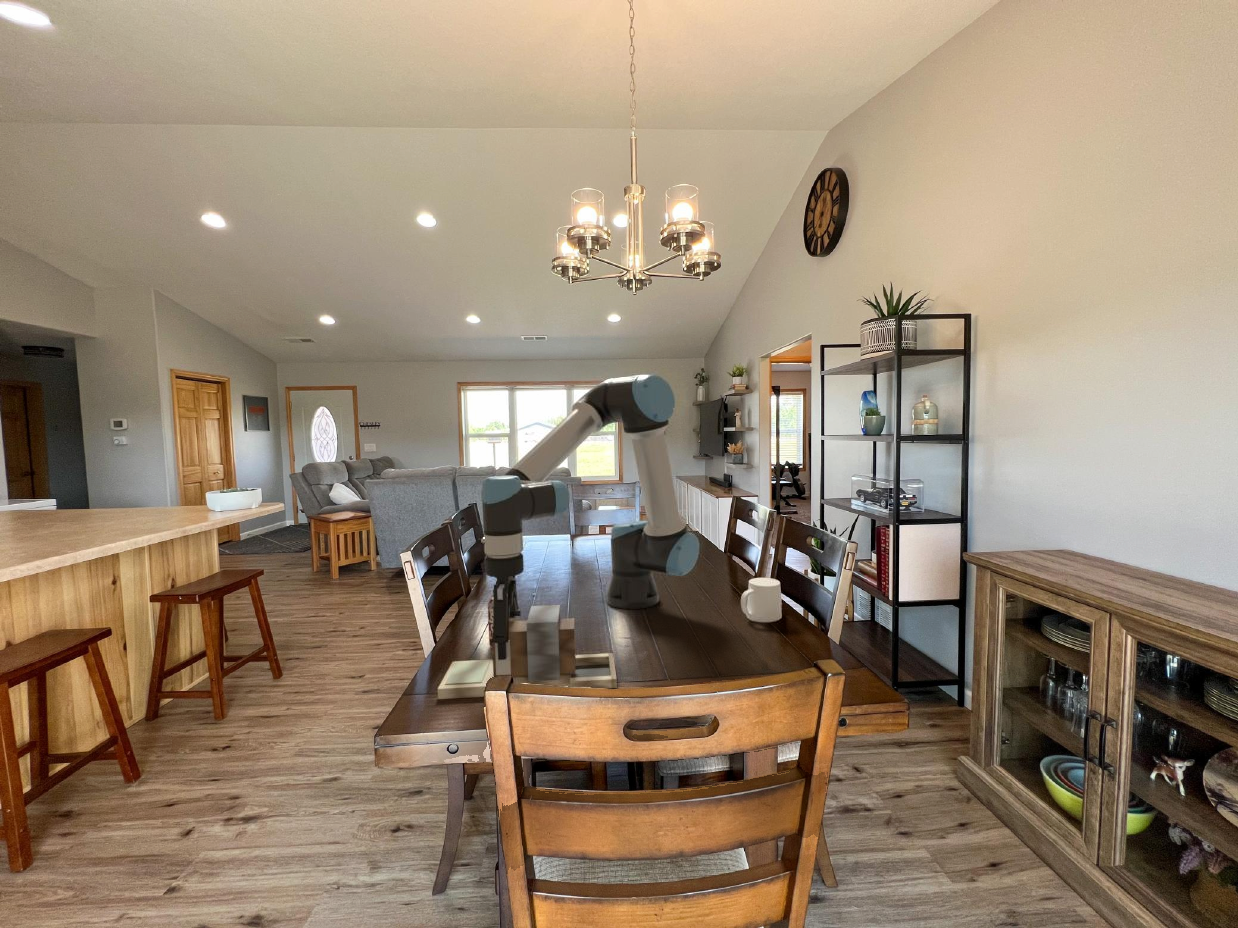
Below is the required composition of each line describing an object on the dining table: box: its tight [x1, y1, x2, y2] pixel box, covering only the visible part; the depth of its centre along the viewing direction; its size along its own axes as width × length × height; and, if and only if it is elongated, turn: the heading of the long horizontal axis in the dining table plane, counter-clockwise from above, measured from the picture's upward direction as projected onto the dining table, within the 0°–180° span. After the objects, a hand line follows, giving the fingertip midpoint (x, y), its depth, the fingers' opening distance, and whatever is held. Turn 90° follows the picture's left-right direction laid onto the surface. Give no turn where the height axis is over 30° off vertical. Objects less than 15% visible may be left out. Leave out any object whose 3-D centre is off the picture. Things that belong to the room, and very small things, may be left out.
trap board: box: [437, 604, 618, 700], centre depth 109 cm, size 34×12×14 cm, turn 94°
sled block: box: [491, 617, 577, 677], centre depth 109 cm, size 16×6×9 cm, turn 94°
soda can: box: [487, 594, 519, 648], centre depth 126 cm, size 7×7×12 cm
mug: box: [740, 577, 783, 623], centre depth 141 cm, size 12×9×8 cm
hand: (508, 660), depth 109 cm, fingers open, 11 cm apart
